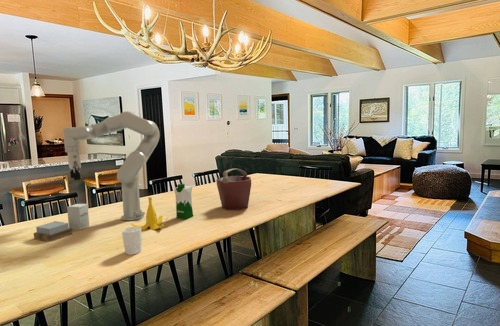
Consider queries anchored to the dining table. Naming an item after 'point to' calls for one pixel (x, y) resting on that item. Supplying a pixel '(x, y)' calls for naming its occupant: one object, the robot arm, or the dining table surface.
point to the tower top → (52, 228)
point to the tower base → (52, 237)
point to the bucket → (234, 190)
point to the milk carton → (183, 201)
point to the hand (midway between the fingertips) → (75, 178)
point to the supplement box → (78, 216)
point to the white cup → (132, 240)
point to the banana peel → (151, 218)
